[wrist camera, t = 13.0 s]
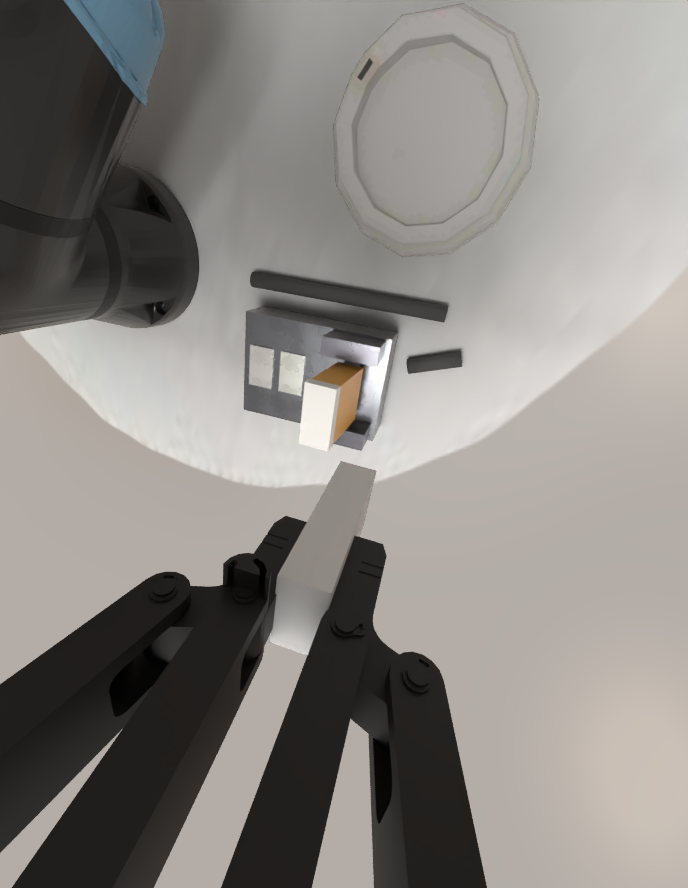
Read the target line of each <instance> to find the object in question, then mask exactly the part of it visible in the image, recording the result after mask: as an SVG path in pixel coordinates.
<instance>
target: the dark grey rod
mask: <svg viewBox="0 0 688 888" xmlns="http://www.w3.org/2000/svg"><path fill="white" fill-rule="evenodd" d="M250 283H251V286H252V287H256V288H262V289H267V290H273V291H278V292H283V293H289V294H294V295H300V296H305V297H310V298H316V299H321V300H326V301H332V302H337V303H343V304H348V305H353V306H359V307H364V308H370V309H375V310H380V311H386V312H391V313H397V314H402V315H407V316H413V317H418V318H423V319H429V320H434V321H440V322H444V321H445V318H446V314H447V309H448V306H444V305H438V304H433V303H427V302H421V301H416V300H410V299H405V298H399V297H393V296H388V295H382V294H377V293H371V292H365V291H360V290H354V289H349V288H343V287H337V286H332V285H326V284H320V283H315V282H309V281H304V280H298V279H292V278H287V277H281V276H276V275H270V274H264V273H259V272H252V274H251V277H250Z"/></svg>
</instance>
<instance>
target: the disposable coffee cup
mask: <svg viewBox="0 0 688 888" xmlns="http://www.w3.org/2000/svg"><path fill="white" fill-rule="evenodd" d="M538 96H539V94H538V92H537V89H536V87H535V84H534V82H533V79H532V76H531V74H530V71H529V69H528V66H527V64H526V61H525V58H524V56H523V53H522V51H521V48H520V46H519V43H518V41H517V38H516V35H515V33H514V32H512V31H510V30H509V29H507V28H505V27H503V26H502V25H500V24H498V23H496V22H495V21H493V20H491V19H490V18H488V17H486V16H484V15H483V14H481V13H479V12H477V11H476V10H474V9H472V8H471V7H469V6H467V5H465V4H464V3H461V4H457V5H452V6H447V7H443V8H438V9H434V10H428V11H422V12H417V13H411V14H405V15H401V16H400V17H399V18H398V19H397V20H396V21H395V22H394V23H393V24H392V25H391V26H390V27H389V28H388V29H387V30H386V31H385V32H384V33H383V34H382V35H381V36H380V37H379V38H378V39H377V40H376V41H375V42H374V43H373V44H372V45H371V46H370V47H369V48H368V49H367V50H366V51H365V53H364V55H363V56H362V58H361V59H360V61H359V63H358V64H357V66H356V67H355V69H354V71H353V72H352V75H351V77H350V80H349V83H348V85H347V88H346V91H345V94H344V96H343V99H342V102H341V105H340V107H339V110H338V113H337V115H336V118H335V122H334V125H333V130H334V151H335V172H336V186H337V188H338V189H339V191H340V193H341V195H342V197H343V199H344V201H345V202H346V204H347V206H348V208H349V210H350V212H351V214H352V215H353V217H354V219H355V221H356V223H357V225H358V226H359V228H360V230H361V232H362V233H363V234H365V235H366V236H368V237H370V238H371V239H373V240H375V241H376V242H378V243H380V244H382V245H383V246H385V247H387V248H388V249H390V250H392V251H393V252H395V253H397V254H398V255H400V256H421V255H440V254H450V253H452V252H453V251H455V250H456V249H458V248H459V247H461V246H462V245H464V244H466V243H467V242H469V241H470V240H472V239H473V238H475V237H476V236H478V235H479V234H481V233H483V232H484V231H486V230H487V229H489V228H490V227H492V226H493V225H495V224H496V223H497V221H498V220H499V218H500V217H501V215H502V213H503V212H504V210H505V208H506V207H507V205H508V204H509V202H510V200H511V199H512V197H513V196H514V194H515V192H516V191H517V189H518V187H519V186H520V184H521V183H522V181H523V179H524V178H525V176H526V174H527V173H528V171H529V170H530V167H531V159H532V151H533V144H534V136H535V128H536V121H537V113H538V105H539V97H538Z"/></svg>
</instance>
